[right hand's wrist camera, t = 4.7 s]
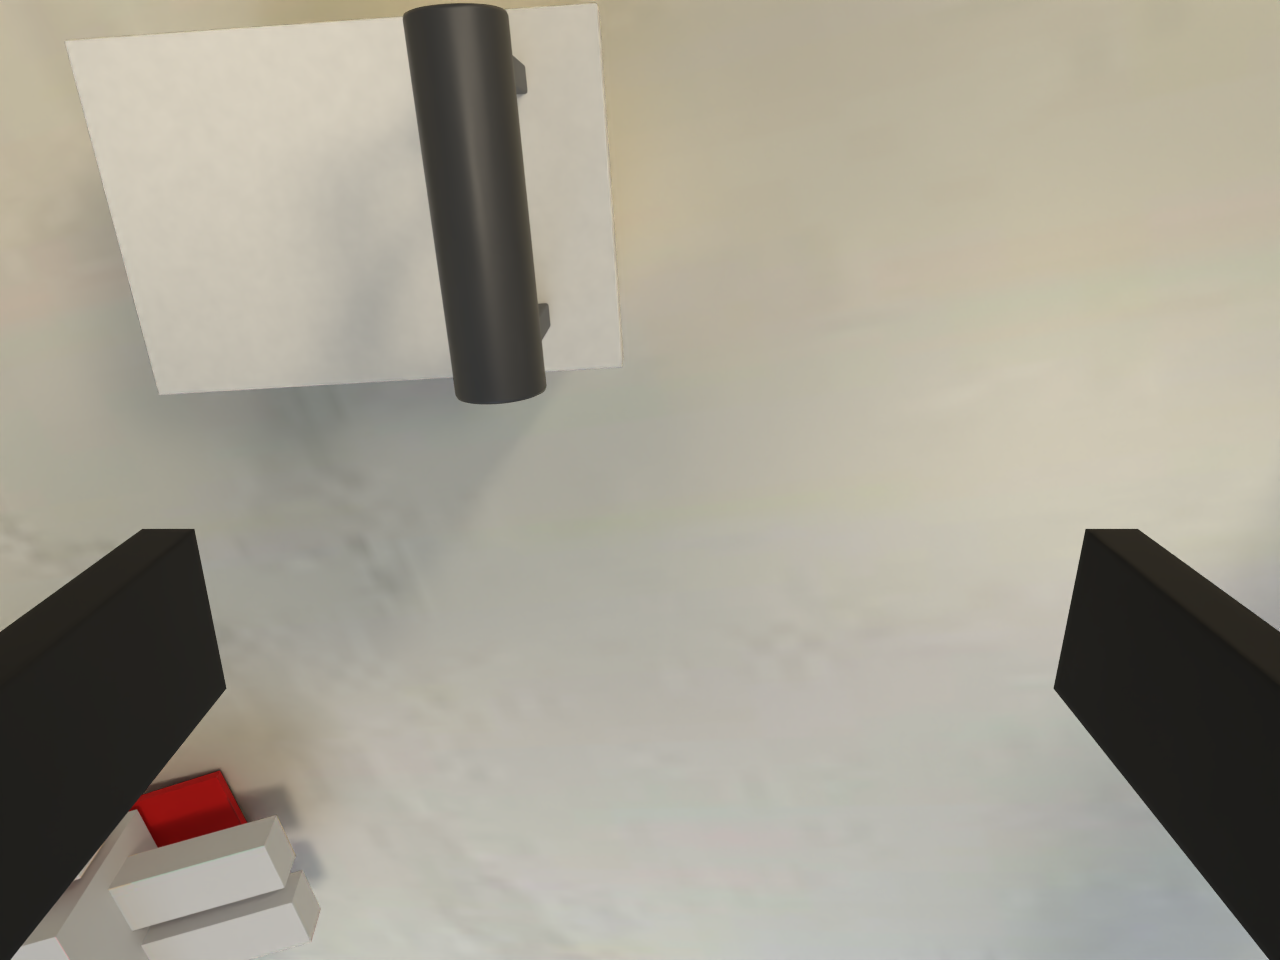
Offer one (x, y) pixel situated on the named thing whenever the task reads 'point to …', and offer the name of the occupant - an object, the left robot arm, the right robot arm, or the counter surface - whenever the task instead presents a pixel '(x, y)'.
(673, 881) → the counter surface
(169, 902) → the toy
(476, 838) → the counter surface
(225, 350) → the lid
